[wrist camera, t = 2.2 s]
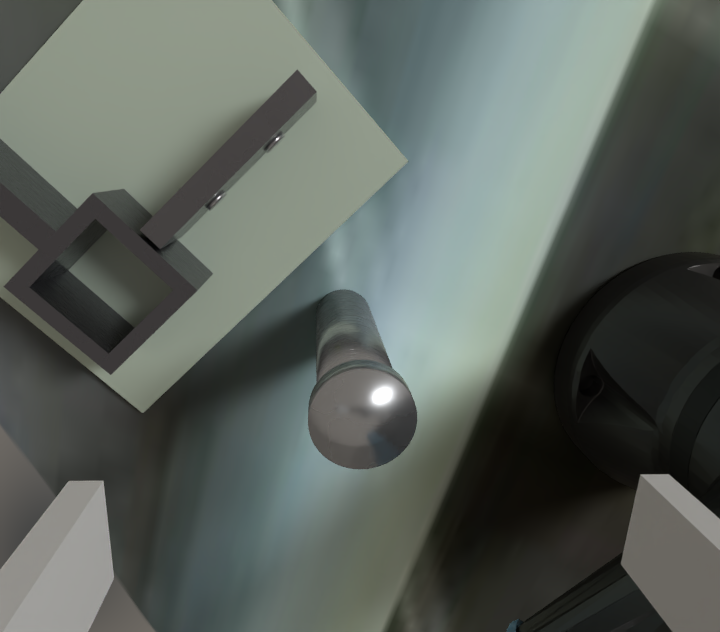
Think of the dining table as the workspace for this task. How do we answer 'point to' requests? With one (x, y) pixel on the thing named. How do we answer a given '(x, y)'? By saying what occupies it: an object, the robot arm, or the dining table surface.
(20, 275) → the hinge base
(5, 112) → the mat
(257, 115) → the bolted dark bar
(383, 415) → the hinge pin
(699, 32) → the dining table surface
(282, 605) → the dining table surface
